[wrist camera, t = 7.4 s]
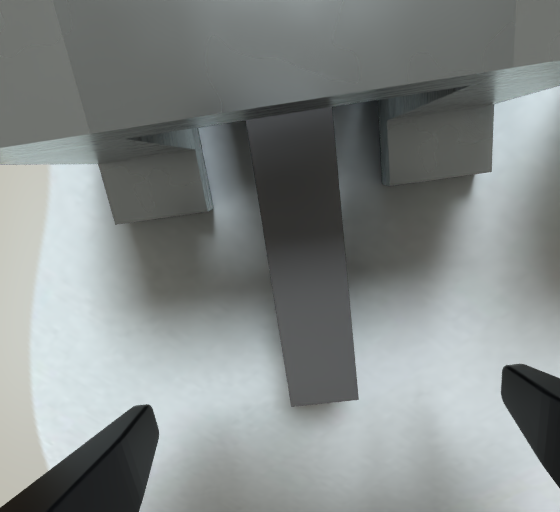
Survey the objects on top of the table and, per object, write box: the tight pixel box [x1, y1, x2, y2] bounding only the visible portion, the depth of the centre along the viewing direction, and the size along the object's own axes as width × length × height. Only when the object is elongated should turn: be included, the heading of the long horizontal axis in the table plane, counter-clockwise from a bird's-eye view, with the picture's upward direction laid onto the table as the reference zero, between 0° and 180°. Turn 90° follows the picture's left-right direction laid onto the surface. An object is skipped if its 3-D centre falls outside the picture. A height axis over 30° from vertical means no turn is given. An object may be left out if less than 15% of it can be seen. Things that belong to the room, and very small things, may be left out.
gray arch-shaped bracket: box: [0, 0, 560, 225], centre depth 8 cm, size 7×14×8 cm, turn 98°
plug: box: [246, 107, 359, 407], centre depth 10 cm, size 16×4×5 cm, turn 8°
